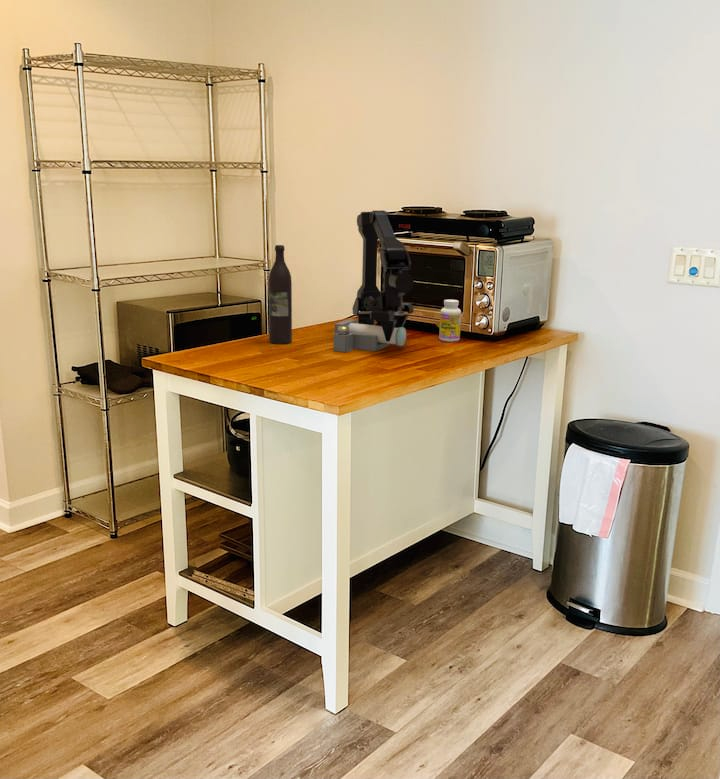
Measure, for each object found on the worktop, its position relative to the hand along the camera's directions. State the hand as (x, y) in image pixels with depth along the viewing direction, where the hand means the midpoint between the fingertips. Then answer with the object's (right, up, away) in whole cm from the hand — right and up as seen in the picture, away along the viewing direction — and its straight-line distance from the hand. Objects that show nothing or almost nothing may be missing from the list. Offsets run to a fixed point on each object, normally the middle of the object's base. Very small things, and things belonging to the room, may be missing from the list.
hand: (391, 339), depth 245 cm
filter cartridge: (-5, -1, +3) cm, 5 cm away
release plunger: (-15, -3, -1) cm, 15 cm away
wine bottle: (-35, 0, +9) cm, 36 cm away
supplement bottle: (+19, +1, +16) cm, 25 cm away
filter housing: (-10, -2, +3) cm, 11 cm away
